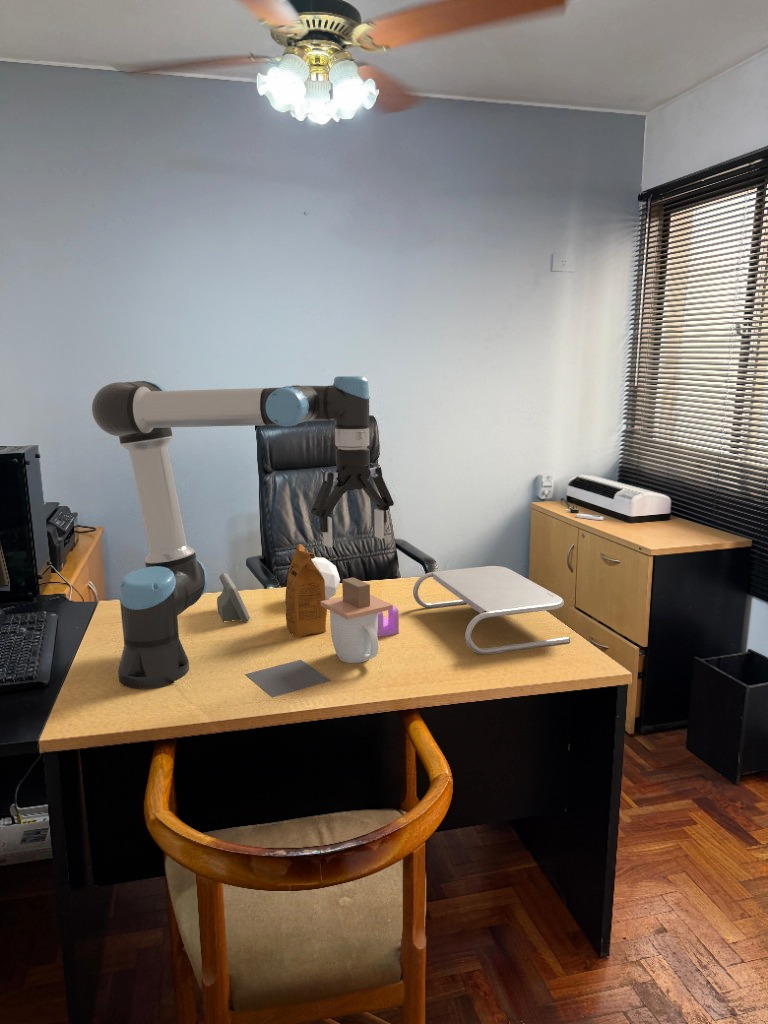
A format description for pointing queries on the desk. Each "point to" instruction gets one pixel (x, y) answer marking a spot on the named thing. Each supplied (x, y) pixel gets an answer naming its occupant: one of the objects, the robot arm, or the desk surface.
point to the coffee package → (305, 596)
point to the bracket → (388, 623)
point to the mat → (287, 678)
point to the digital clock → (231, 602)
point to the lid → (355, 601)
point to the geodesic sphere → (328, 575)
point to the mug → (354, 637)
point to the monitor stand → (494, 598)
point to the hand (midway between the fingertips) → (354, 541)
